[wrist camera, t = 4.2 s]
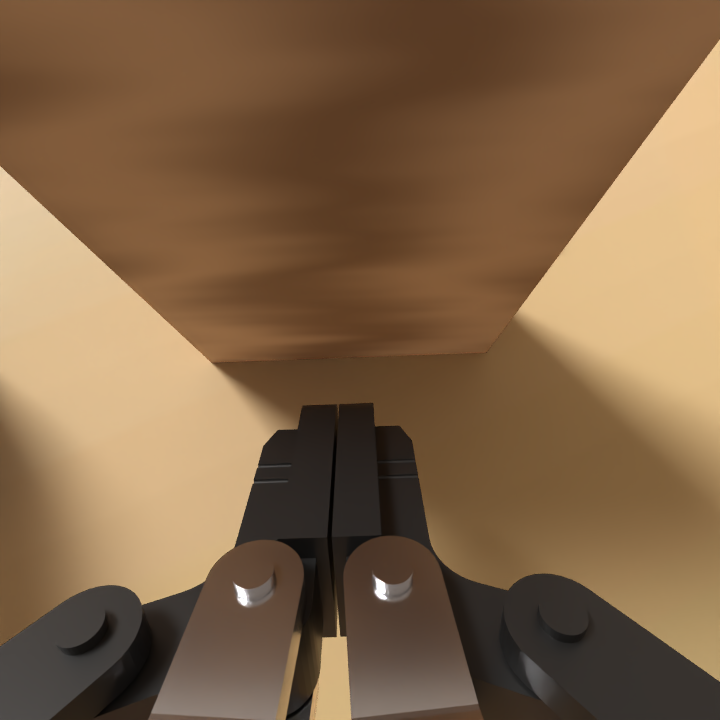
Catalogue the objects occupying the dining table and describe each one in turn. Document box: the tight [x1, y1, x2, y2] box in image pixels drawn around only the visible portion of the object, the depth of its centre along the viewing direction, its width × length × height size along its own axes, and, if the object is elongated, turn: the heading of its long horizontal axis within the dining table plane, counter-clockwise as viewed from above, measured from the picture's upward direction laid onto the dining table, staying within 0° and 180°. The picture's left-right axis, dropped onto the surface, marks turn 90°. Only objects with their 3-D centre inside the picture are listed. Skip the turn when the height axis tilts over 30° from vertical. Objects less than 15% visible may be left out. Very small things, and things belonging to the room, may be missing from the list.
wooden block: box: [0, 0, 720, 363], centre depth 11 cm, size 10×3×13 cm, turn 92°
